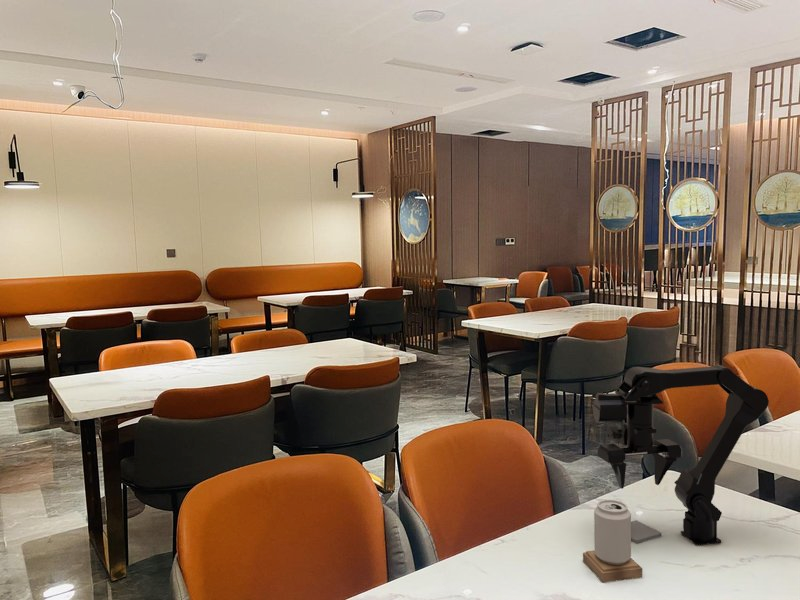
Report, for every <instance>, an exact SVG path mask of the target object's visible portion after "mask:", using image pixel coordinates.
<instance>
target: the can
mask: <svg viewBox="0 0 800 600" xmlns="http://www.w3.org/2000/svg"><path fill="white" fill-rule="evenodd" d="M593 518H594V519H593V523H594V525H593V526H594V527H593V528H594V533H593V534H594V535H593V536H594V537H593V538H594V541H593V542H594V547H593V548H594V549H593V550H595V554H596V556H597V557H598V558H599V559H600V560H602V561H603V562H605V563H608V564H614V565H618V564H623V563H625V562H626V561H628V560H629V559H630V558H632V541H631V521H632V513H631V511H630V510H629V509H628V505H627V504H626V503H625V502H623V501H621V500H616V499H603V500H599V501H598V502H597V504H596V507H595V508H594V512H593Z"/></svg>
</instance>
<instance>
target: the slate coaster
mask: <svg viewBox="0 0 800 600" xmlns="http://www.w3.org/2000/svg"><path fill="white" fill-rule="evenodd" d="M662 534H663V533H662V532H660V531H658V530H656V529H655V528H652V527H650V526H649V525H647V524H645V523H643V522H641V521H639V520H637V519H635V520H631V542H633V543H634V544H641V543H643V542H648V541H650V540H654V539H657V538H660V537H662Z"/></svg>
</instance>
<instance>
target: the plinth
mask: <svg viewBox="0 0 800 600" xmlns="http://www.w3.org/2000/svg"><path fill="white" fill-rule="evenodd" d="M582 561H583V563H584V564H585V565H586V566H587V567H588V569H590V571H591V572H592V573H593V572H594V573H595V574H596V575H597V576H598V577H599V578H600V579H601V580H600V579H599V578H598V577H597V576H596V575H595V574H594V573H593V574H594V575H595V576H596V577H597V578H598V579H599V580H600V581H601V582H602V583H608V582H607V581H611V582H617V581H616V580H618V581H624V579H626V580H633V579H632V578H634V579H641V578H643V567H642V566H640V565H639V563H638V562H636V561H635V560H634V559H633V558H632V557H631V558H630V559H629V560H628V561H626V562H625V563H623V564H618V565H614V564H608V563H605V562H603V561H602V560H600V559H599V558H598V557H597V556H596V554H595V549H592V550H587V551H585V552H582ZM640 577H641V578H640Z"/></svg>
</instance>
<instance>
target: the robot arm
mask: <svg viewBox="0 0 800 600" xmlns="http://www.w3.org/2000/svg"><path fill="white" fill-rule="evenodd" d="M715 385H716V386H717V385H718V387H720V388H721V389H722V390H723V391H724V392H725V393H726V394H727V397H726V398H727V399H726V401H725V412H724V413H725V414H724V417H723V418H722V421H721V422H720V424H719V425H718V428H717V429H716V431H715V433H714V434H713V436H712V438H711V440H710V441H709V443H708V444H707V446H706V448H705V450H704V452H703V454H702V455H701V456H700V459H699V460H698V462H697V463H696V466H694V468H692V469H691V470H689V471H687V470H686V469H682V470H680V471H681V472H680V474H679V476H678V478H677V480H675V481H674V484H675V486H674V493H675V496H676V498H677V499H678V500H679V501H680V502H681V503H682V505H683V507H684V508H686V509H687V510H685V512H684V518H683V519H682V523H683V525H682V527H683V528H682V529H683V530H681V531H680V535H682V536H683V537H684V538H686V539H688V540H689V541H690V542H691V543H692V544H694V545H695V546H704V545H713V544H720V543H722V539H720V538H719V537H718V534H717V533H718V526H717V525H718V522H719V521H720V519H721V516H722V511H721V510H720V509H719V508H718V507H717V506H716V505H714V504H713V503H712V502H713V501H712V500H713V498H714V495H715V493H716V491H715V488H716V480H717V477H718V475H719V473H720V472H721V470H722V469H723V467H724V466H725V464H726V462H727V460H728V459H729V457H730V455H731V453H732V452H733V450H734V448H735V447H736V445H737V443H738V441H739V439H740V438H741V436H742V435H743V432H744V431H745V429H746V428H747V427H748V426H749V425H751V424H752V423H754V422H756V421H757V420H758V419H760V417H761V416H763V414H764V412H765V411H766V410H767V409H768V407H769V405H770V400H769V397H768V395H767V393H766V392H765V391H763V390H761V389H759V388H757V387H755V386H752V385H751V384H749V383H748V382H746V381H745V380H743V379H742V378H741V377H739V376H738V375H737V374H736V373H734V372H733V371H732V370H731V369H730V368H729V367H726V366H723V365H721V364H715V365H713V366H712V365H711V366H701V367H699V366H698V367H689V368H687V367H686V368H677V369H676V368H675V369H674V368H673V369H660V368H659V369H657V368H653V367H652V368H651V367H643V366H633V367H630V368H628V370H627V371H626V372H625V375H624V379H623V381H622V382H621V383H620V385H619V386H618V387H617V388H616V390H615V391H614V393H605V392H604V393H603V392H596V393H595V396H596V397H595V398H594V401H593V404H592V413H593V417H594V421H595V423H596V424H597V423H600V424H601V423H623V421H625V420H626V422H624V423H623V426H622V427H623V428H619V427H618V426H617V425H610V426H607V431H606V433H607V439H608V440H609V441H611V440H614V443H607V444H600V445H599V446H598V447H597V456H598V457H599V458H600V459H602V460H603V461H605V462H606V463H608V464H610V466H611V468H612V470H613V474H614V476H615V478H616V481H617V484H618V486H619V488H620V489H624V488H625V483H626V482H625V481H626V470H627V463H626V462H625V460H626V457H630V456H631V457H632V456H633V457H634V456H642V455H652V456H653V459H654V484H655V485H657V486H659V485H660V484H661V482H662V481H663V479H664V477H665V476H666V473H667V471H668V470H669V469H670V468H671V466H672V465H673V463H674V462H677V461H678V458H682V457H683V448H682V446H681V445H680V444H678V443H677V442H675V441H672V439H671V440H670V439H669V438H665V439H655V440H654V434H657V428H656V427H654V405H663V404H664V401H663V400H662V399H661V398H659V397H658V395H657V394H660V393H663V392H664V391H666V390H669V389H675V388H676V389H678V388H688V387H689V388H690V387H703V386H715ZM619 443H620V444H621V445H622V446H625V447H620V446H618V445H616V444H619Z"/></svg>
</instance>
